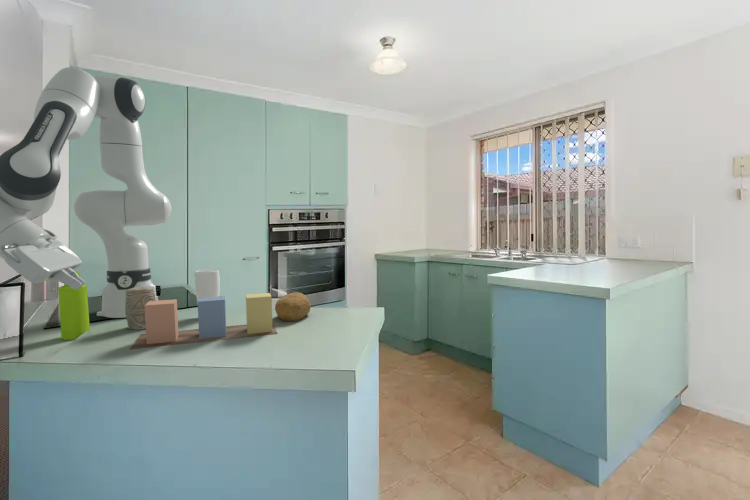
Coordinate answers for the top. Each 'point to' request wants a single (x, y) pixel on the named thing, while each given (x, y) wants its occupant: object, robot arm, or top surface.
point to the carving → (137, 306)
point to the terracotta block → (161, 321)
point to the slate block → (211, 317)
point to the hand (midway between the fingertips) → (81, 286)
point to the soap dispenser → (73, 311)
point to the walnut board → (193, 337)
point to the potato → (292, 307)
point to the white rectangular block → (207, 283)
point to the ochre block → (259, 313)
